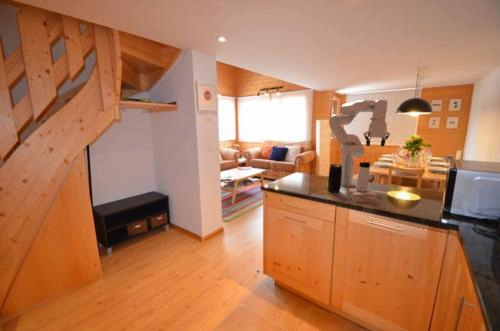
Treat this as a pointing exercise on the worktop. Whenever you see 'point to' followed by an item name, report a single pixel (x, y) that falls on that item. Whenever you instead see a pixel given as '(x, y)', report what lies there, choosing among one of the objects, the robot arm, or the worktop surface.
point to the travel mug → (363, 177)
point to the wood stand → (361, 195)
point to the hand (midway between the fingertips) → (375, 146)
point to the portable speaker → (335, 178)
